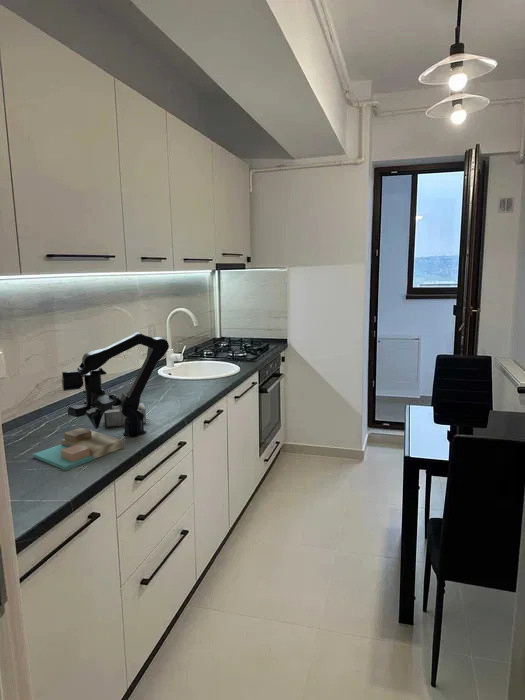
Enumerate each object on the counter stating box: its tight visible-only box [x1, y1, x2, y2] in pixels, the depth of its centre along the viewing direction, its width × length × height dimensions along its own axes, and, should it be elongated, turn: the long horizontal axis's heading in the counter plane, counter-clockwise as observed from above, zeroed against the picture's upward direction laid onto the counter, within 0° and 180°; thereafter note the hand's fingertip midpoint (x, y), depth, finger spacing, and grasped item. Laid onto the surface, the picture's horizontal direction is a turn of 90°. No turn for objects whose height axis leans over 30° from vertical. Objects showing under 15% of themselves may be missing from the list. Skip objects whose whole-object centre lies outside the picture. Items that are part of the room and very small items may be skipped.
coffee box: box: [103, 402, 147, 428], centre depth 193 cm, size 9×6×16 cm
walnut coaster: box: [63, 427, 92, 443], centre depth 167 cm, size 6×6×2 cm
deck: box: [61, 429, 124, 460], centre depth 166 cm, size 12×18×3 cm, turn 54°
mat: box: [32, 444, 94, 471], centre depth 157 cm, size 10×19×1 cm, turn 54°
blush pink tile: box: [61, 444, 90, 462], centre depth 156 cm, size 6×6×2 cm
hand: (96, 428), depth 173 cm, fingers closed
